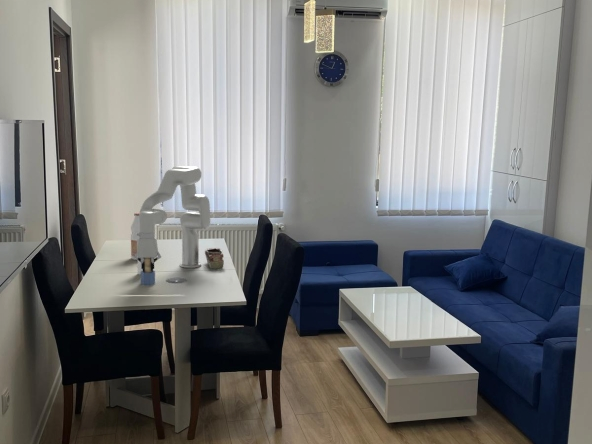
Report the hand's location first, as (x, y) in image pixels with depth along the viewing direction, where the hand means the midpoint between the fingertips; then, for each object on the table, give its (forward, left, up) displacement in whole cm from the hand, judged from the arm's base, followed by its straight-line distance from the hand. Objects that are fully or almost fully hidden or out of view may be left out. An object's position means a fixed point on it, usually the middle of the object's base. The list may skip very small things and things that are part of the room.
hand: (147, 270), depth 317 cm
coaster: (-5, +14, -8) cm, 17 cm away
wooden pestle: (0, 0, -7) cm, 7 cm away
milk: (-20, -4, -8) cm, 22 cm away
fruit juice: (-59, -13, -8) cm, 61 cm away
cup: (0, 0, -8) cm, 8 cm away
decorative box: (-41, +31, -8) cm, 52 cm away
